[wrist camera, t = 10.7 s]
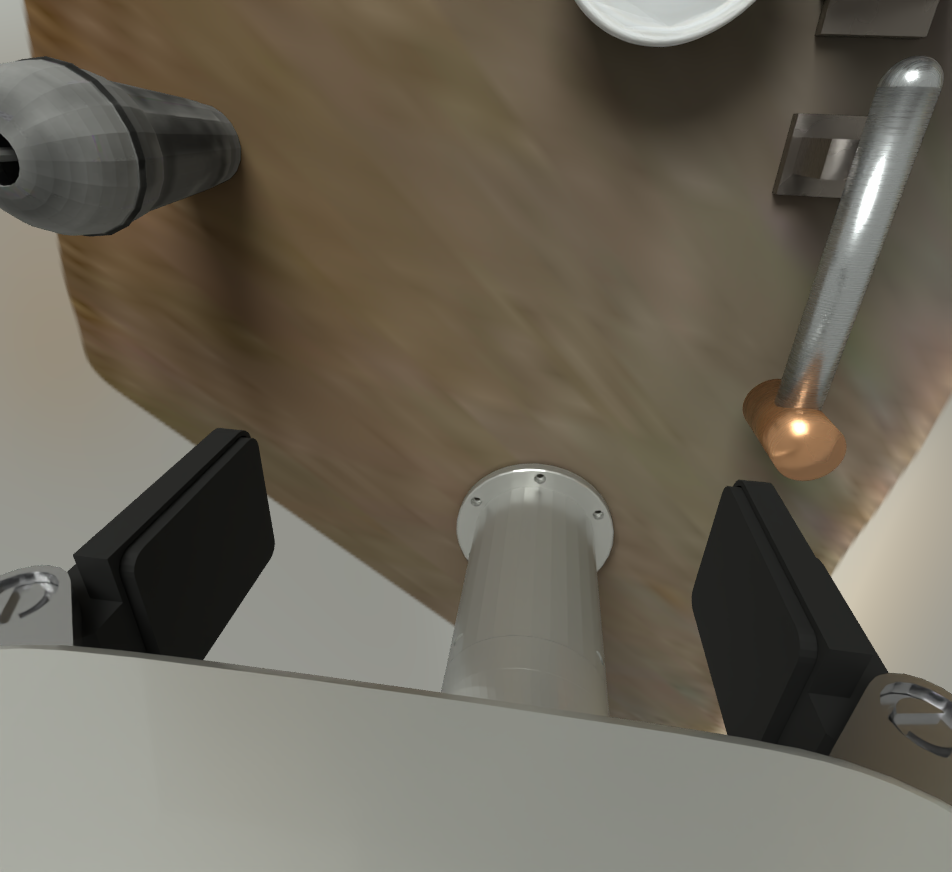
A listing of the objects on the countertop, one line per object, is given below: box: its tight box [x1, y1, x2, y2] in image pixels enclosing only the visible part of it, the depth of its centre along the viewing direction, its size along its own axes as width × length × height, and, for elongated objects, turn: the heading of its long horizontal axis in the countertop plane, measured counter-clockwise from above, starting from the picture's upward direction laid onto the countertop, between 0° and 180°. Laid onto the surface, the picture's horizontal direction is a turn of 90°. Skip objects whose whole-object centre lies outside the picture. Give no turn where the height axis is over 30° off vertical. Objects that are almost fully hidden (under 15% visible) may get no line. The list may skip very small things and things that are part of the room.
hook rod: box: [743, 56, 944, 481], centre depth 29 cm, size 20×4×6 cm, turn 178°
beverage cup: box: [0, 56, 241, 236], centre depth 27 cm, size 7×7×20 cm
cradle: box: [772, 114, 868, 198], centre depth 30 cm, size 4×5×5 cm
